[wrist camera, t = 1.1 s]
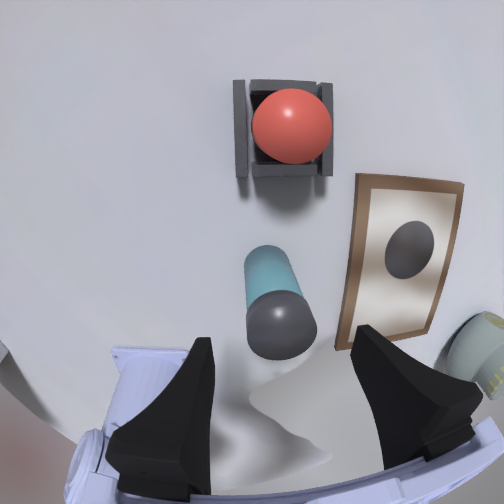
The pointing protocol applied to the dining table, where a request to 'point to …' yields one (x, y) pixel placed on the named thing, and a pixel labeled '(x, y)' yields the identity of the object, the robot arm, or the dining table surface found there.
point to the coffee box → (3, 352)
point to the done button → (292, 126)
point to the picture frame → (398, 254)
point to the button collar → (320, 166)
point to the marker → (276, 306)
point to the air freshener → (480, 354)
